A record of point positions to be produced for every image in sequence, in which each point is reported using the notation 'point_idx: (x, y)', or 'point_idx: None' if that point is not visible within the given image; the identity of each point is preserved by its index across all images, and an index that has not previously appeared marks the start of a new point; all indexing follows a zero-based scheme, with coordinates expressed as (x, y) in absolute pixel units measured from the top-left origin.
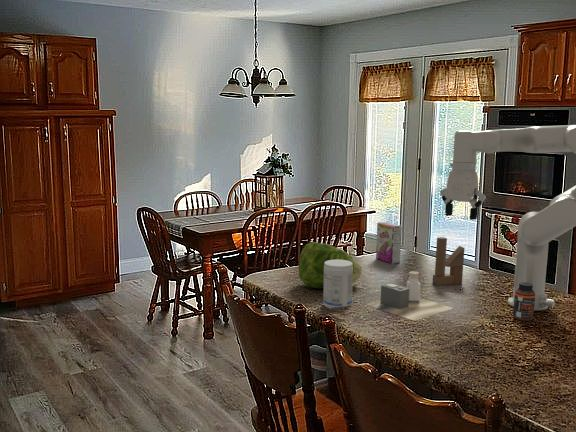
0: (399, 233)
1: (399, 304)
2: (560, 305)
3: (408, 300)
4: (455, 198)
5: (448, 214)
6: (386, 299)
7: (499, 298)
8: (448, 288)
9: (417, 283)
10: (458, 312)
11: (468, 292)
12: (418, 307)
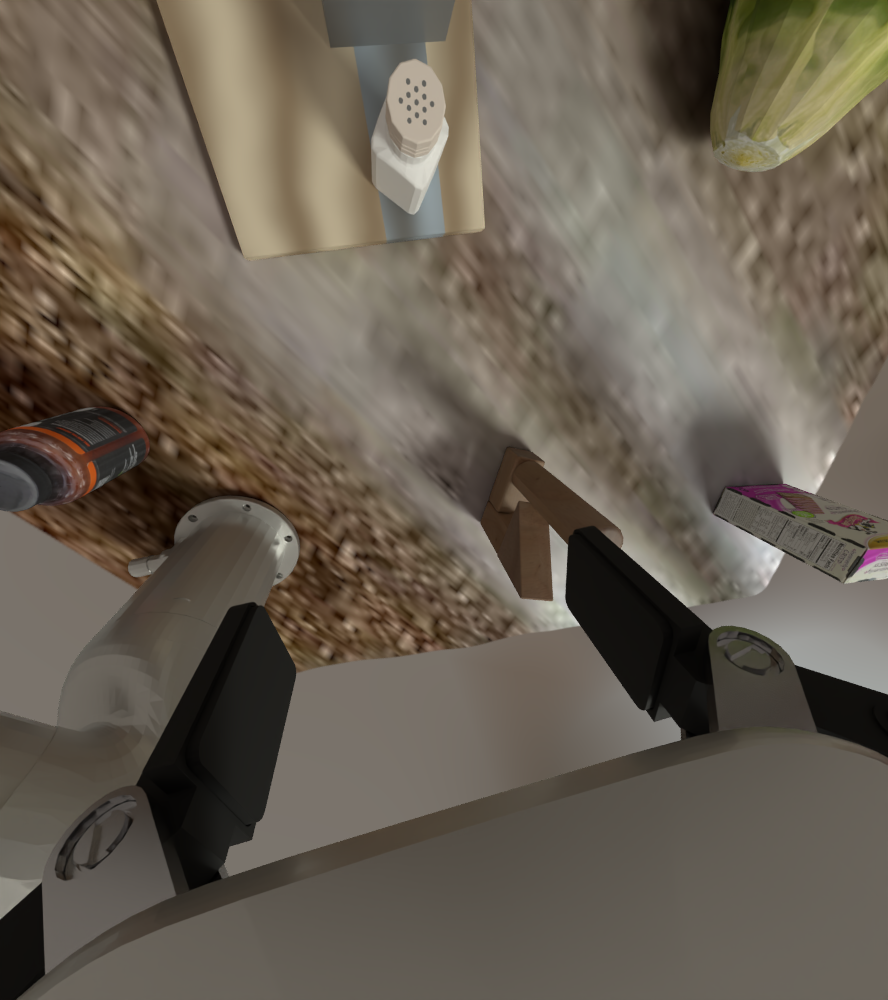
0: (815, 558)
1: None
2: None
3: (326, 19)
4: (554, 865)
5: (574, 556)
6: None
7: (327, 521)
8: (472, 460)
9: (378, 127)
10: (238, 273)
11: (412, 484)
12: (303, 93)
